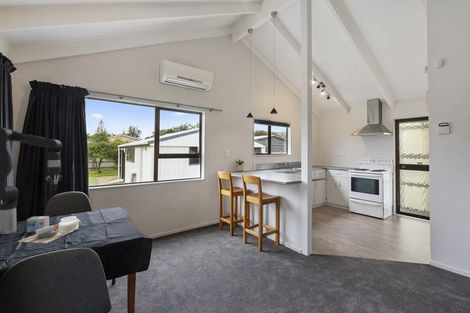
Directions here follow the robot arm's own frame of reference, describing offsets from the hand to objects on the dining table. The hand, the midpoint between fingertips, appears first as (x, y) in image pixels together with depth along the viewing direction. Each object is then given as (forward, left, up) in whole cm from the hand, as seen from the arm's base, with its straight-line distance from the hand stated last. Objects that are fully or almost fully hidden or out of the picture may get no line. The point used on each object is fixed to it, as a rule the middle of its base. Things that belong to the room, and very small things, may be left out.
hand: (54, 188), depth 169 cm
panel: (+11, -17, -30) cm, 36 cm away
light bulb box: (-5, -8, -31) cm, 32 cm away
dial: (+11, -17, -29) cm, 35 cm away
